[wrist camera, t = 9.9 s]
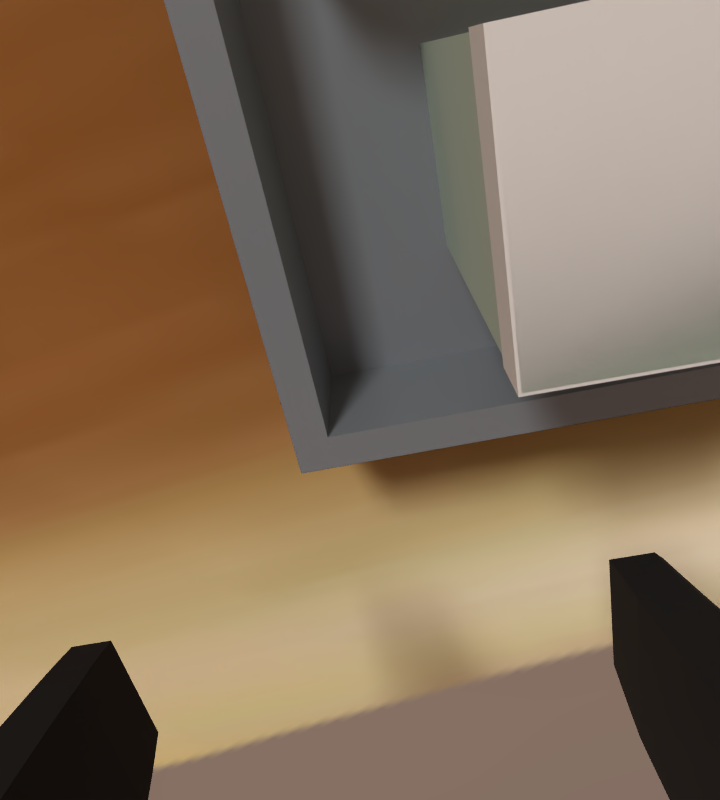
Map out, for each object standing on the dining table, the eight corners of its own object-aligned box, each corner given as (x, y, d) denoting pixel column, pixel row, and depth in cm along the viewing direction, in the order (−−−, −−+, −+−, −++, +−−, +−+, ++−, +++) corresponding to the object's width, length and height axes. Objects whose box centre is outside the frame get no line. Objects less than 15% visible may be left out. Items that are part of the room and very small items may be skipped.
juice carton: (632, -6, 14) (930, -73, 7) (633, 212, 16) (864, 337, 9) (417, 41, 14) (483, 22, 7) (445, 248, 16) (518, 397, 9)
